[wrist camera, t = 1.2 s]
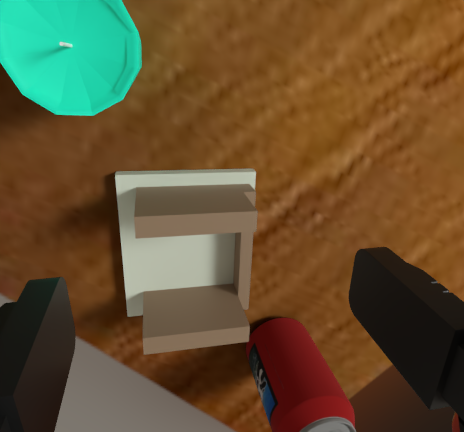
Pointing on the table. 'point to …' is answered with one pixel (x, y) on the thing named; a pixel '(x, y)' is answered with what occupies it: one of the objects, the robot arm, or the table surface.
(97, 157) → the table surface
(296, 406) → the beverage can
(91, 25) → the candle
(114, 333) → the table surface
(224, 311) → the holder
